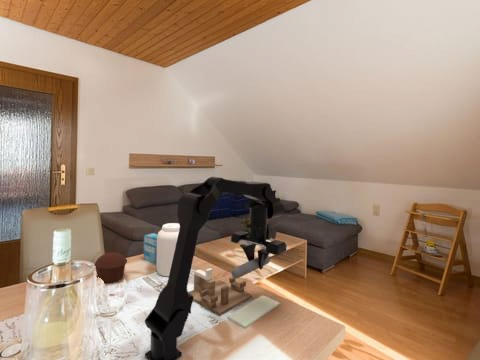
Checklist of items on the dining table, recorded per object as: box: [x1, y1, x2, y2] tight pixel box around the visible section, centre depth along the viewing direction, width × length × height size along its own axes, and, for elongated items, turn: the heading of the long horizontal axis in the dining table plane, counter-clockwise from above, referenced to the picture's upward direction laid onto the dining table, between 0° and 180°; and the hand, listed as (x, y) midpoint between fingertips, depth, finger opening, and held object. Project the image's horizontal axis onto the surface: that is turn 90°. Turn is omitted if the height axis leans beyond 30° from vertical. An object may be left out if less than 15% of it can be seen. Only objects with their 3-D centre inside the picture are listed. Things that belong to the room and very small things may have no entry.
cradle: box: [188, 274, 253, 317], centre depth 93 cm, size 17×16×6 cm
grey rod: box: [231, 255, 271, 279], centre depth 86 cm, size 3×18×3 cm, turn 140°
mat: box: [227, 294, 280, 329], centre depth 86 cm, size 7×18×1 cm, turn 139°
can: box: [156, 222, 180, 277], centre depth 113 cm, size 12×12×20 cm
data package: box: [143, 232, 158, 265], centre depth 123 cm, size 12×4×12 cm, turn 58°
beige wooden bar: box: [194, 267, 213, 280], centre depth 94 cm, size 7×2×3 cm, turn 49°
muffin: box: [94, 251, 128, 285], centre depth 104 cm, size 12×11×10 cm
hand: (256, 267), depth 88 cm, fingers closed on grey rod, 3 cm apart
